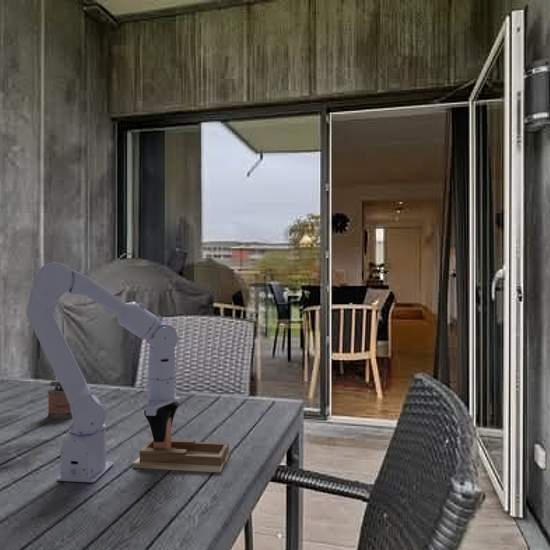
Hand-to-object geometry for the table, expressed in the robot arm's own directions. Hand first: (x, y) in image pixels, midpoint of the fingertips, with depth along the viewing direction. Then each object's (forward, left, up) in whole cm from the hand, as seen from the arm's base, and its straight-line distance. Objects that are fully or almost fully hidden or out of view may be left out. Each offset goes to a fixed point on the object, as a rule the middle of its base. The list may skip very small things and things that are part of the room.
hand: (161, 438), depth 114 cm
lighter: (+27, +38, -5) cm, 47 cm away
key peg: (0, 0, -4) cm, 4 cm away
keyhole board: (0, -5, -5) cm, 7 cm away
